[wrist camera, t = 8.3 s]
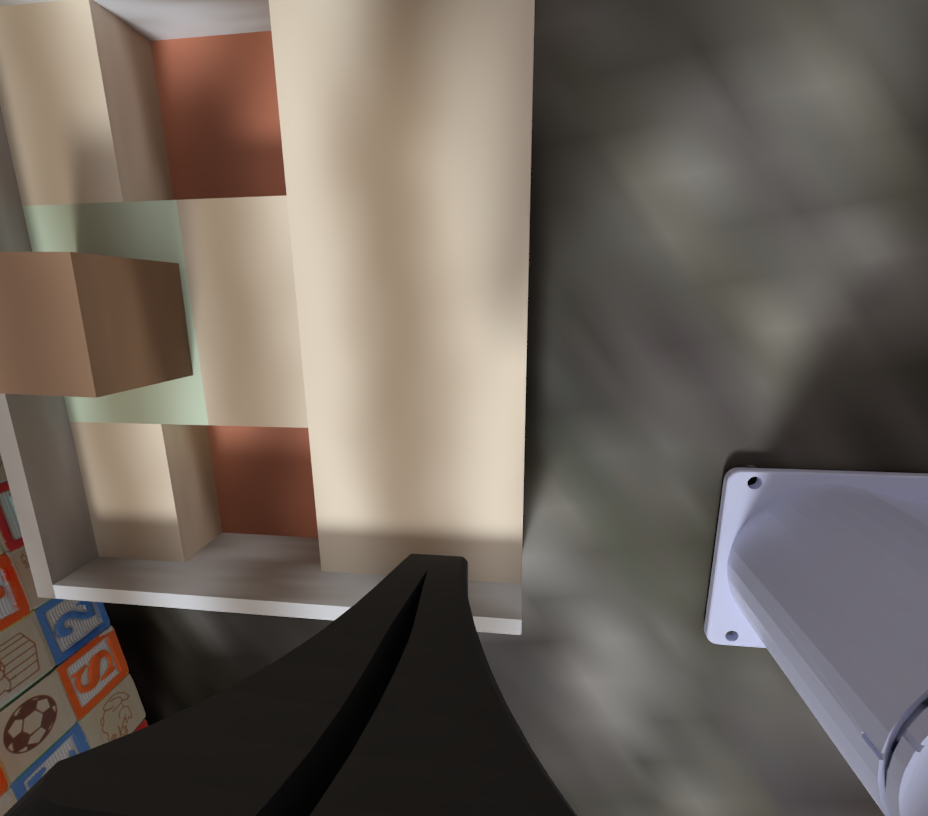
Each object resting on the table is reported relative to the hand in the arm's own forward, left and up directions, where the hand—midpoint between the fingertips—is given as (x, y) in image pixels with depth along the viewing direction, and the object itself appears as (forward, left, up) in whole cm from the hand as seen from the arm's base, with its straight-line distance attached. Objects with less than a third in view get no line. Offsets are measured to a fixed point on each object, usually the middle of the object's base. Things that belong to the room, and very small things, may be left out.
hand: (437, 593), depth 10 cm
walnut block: (+12, -6, -6) cm, 15 cm away
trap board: (+7, -6, -9) cm, 13 cm away
